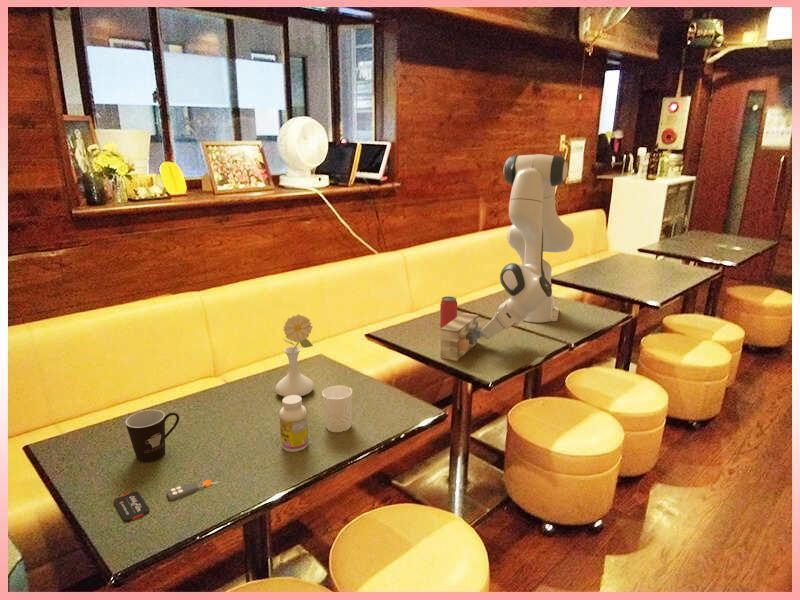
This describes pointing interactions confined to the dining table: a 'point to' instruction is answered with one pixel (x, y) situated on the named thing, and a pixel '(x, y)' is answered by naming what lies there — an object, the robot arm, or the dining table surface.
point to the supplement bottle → (293, 424)
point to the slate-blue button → (477, 332)
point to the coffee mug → (148, 434)
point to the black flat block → (131, 506)
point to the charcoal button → (471, 338)
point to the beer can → (447, 310)
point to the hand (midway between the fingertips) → (483, 334)
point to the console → (457, 335)
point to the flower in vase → (295, 357)
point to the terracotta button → (463, 344)
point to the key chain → (186, 490)
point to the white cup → (337, 408)
